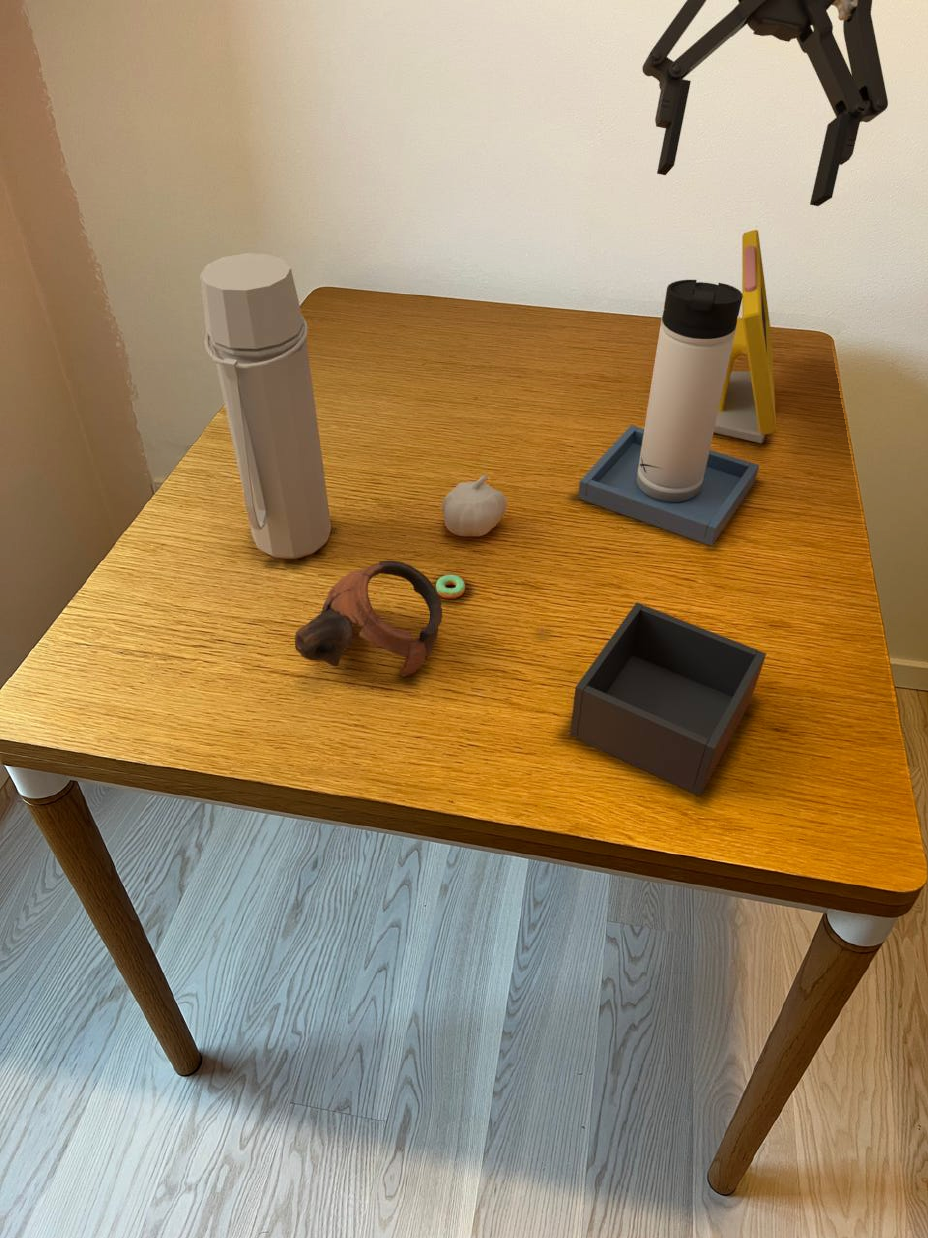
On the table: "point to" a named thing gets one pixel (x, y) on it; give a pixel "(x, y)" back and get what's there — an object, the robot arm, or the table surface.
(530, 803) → the table surface
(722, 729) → the dark grey open box
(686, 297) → the travel mug
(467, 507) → the garlic
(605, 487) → the tray
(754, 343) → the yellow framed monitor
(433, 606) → the animal head ring
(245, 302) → the water bottle
